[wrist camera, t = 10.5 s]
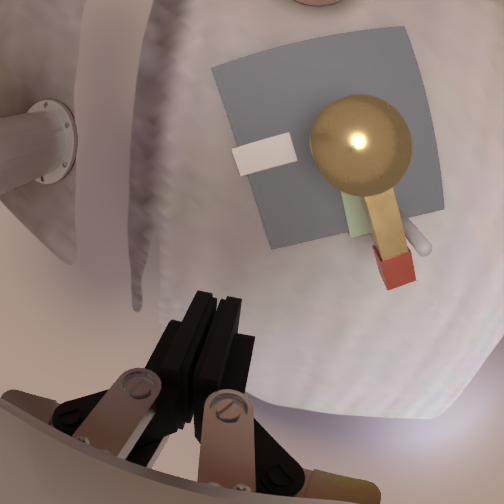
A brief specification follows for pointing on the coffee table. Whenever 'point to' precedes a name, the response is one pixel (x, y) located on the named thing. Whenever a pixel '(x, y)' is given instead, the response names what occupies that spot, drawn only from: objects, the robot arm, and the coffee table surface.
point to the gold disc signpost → (368, 171)
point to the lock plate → (300, 121)
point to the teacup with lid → (318, 2)
